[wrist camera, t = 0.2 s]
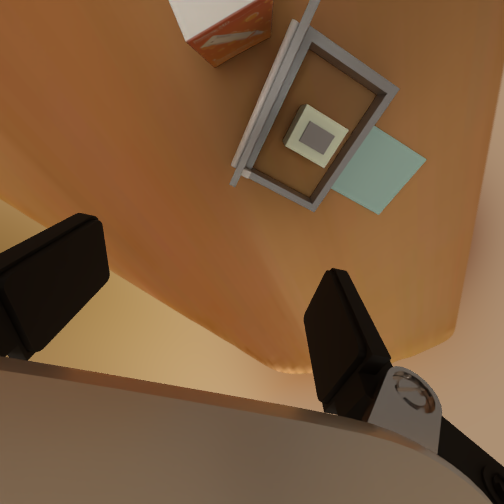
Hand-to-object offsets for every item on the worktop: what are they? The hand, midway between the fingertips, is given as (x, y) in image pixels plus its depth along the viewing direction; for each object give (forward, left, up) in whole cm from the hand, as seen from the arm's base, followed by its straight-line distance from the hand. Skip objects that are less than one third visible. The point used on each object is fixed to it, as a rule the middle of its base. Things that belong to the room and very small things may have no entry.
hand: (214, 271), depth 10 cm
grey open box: (-6, +6, -30) cm, 31 cm away
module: (-6, +6, -30) cm, 32 cm away
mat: (-6, +19, -30) cm, 36 cm away
